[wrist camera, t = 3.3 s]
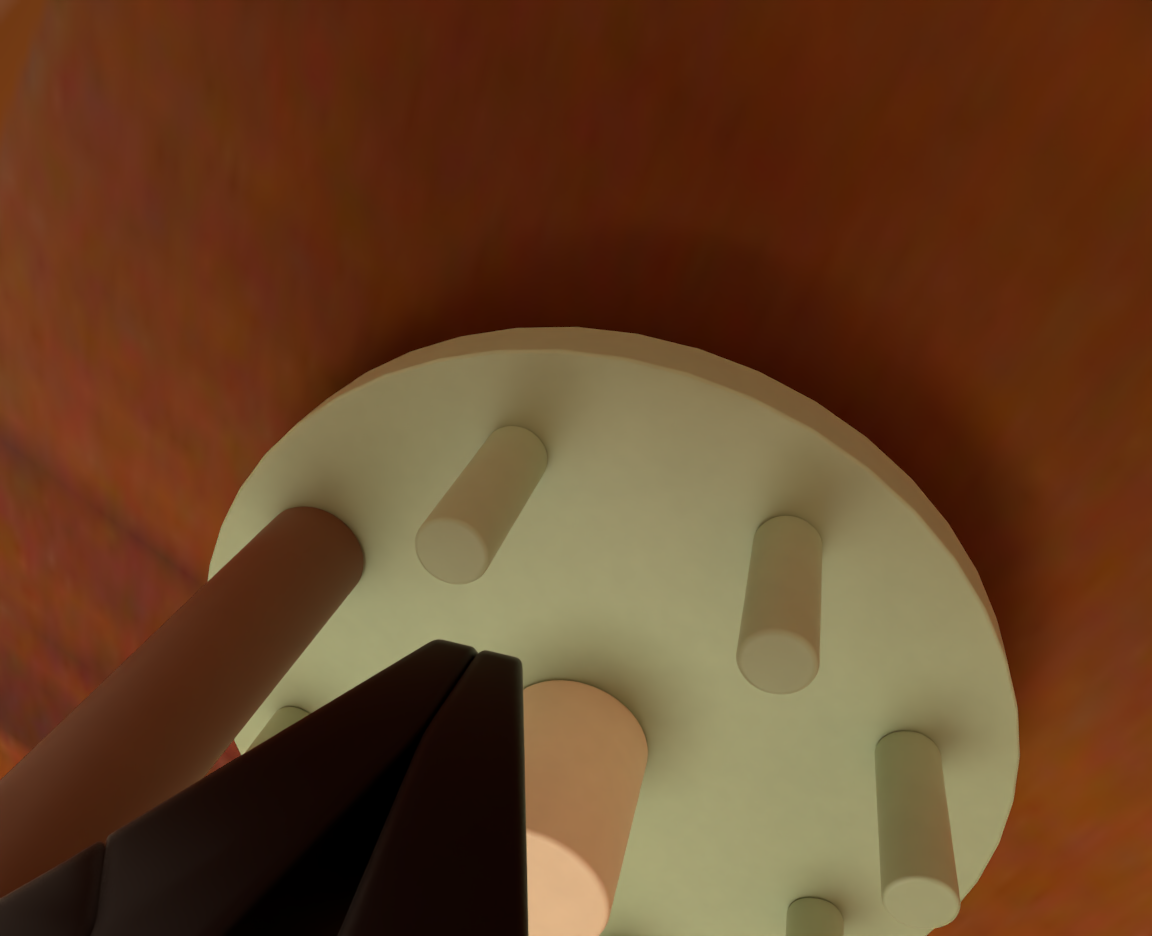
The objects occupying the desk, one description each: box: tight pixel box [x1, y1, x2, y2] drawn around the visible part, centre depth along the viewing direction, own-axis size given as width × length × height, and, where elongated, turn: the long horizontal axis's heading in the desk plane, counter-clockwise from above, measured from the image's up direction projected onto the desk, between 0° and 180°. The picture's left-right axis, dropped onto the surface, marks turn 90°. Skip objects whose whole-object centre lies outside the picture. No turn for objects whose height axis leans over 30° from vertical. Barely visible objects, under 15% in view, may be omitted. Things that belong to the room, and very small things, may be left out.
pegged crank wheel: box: [0, 327, 1020, 936], centre depth 12 cm, size 13×13×8 cm
